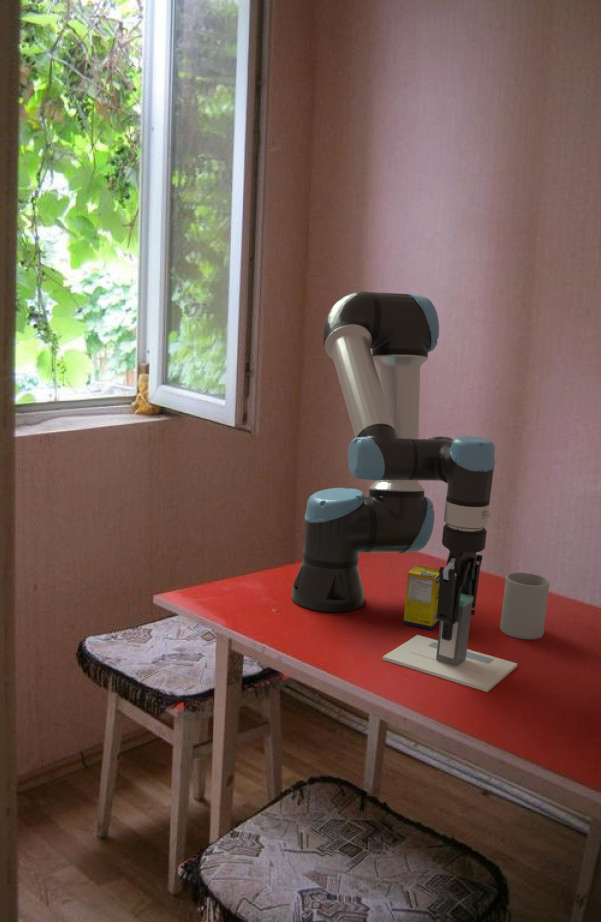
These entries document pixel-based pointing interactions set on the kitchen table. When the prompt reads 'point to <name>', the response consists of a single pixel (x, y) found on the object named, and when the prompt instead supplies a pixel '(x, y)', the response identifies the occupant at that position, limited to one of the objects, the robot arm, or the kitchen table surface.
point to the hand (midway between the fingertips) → (452, 651)
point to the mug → (524, 605)
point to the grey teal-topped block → (459, 631)
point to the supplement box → (422, 597)
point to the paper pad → (470, 672)
